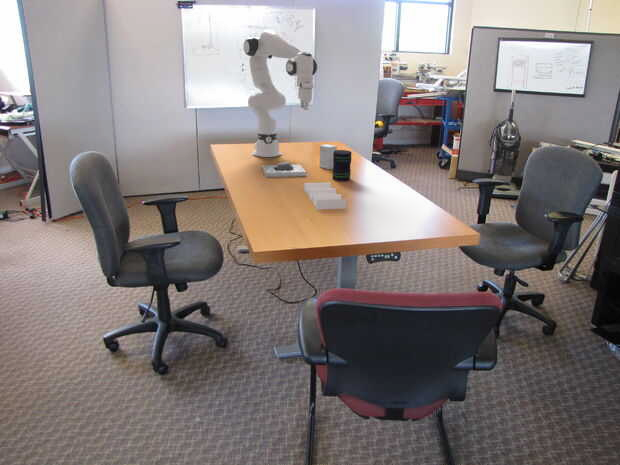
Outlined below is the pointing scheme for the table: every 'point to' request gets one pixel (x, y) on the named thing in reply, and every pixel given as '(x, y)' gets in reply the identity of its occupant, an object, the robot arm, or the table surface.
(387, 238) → the table surface
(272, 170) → the chassis
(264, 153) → the robot arm
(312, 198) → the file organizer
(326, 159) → the small box
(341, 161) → the dark ribbed barrel
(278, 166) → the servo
